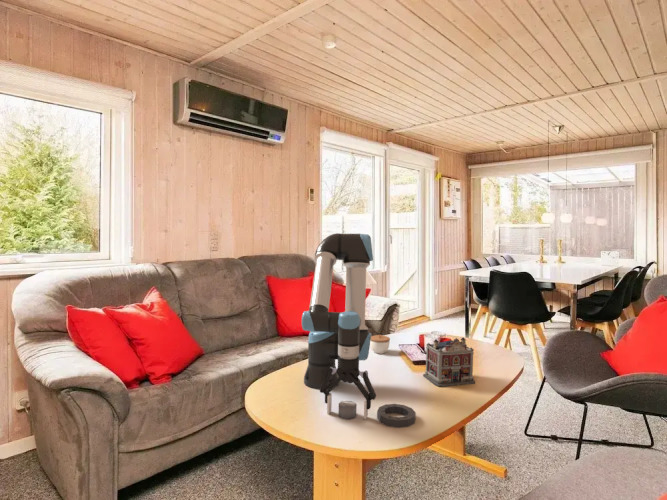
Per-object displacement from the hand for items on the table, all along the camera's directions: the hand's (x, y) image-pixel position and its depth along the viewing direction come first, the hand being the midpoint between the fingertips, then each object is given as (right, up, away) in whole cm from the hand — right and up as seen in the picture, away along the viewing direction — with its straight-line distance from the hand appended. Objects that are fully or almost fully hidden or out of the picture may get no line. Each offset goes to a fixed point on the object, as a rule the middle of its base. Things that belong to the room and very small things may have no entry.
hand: (347, 414), depth 153 cm
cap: (0, 0, 0) cm, 0 cm away
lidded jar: (+20, +4, +77) cm, 79 cm away
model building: (+46, +1, +37) cm, 59 cm away
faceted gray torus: (+17, -1, -2) cm, 17 cm away
